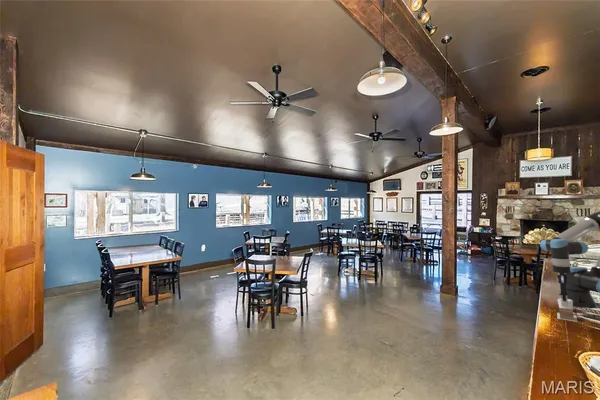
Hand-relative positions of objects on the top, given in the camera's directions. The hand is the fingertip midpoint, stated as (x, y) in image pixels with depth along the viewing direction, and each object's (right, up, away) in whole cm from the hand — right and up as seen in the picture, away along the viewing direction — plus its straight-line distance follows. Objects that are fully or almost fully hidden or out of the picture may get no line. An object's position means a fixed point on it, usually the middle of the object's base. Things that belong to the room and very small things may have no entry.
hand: (565, 306), depth 161 cm
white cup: (+6, -5, +5) cm, 9 cm away
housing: (-5, -4, -6) cm, 9 cm away
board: (-3, -5, -5) cm, 8 cm away
